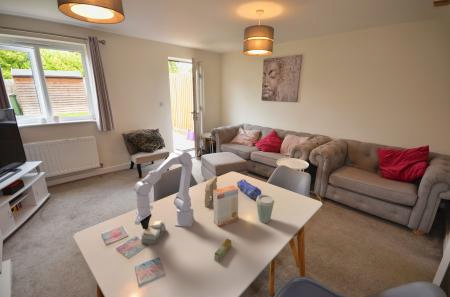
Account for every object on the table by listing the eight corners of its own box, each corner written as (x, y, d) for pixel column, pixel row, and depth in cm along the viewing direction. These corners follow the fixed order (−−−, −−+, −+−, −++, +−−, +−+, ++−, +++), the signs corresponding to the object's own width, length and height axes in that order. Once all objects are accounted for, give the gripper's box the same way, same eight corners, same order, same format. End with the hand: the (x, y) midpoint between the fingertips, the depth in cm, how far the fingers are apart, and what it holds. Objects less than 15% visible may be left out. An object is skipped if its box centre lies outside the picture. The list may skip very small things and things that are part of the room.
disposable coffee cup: (276, 220, 122) (278, 197, 119) (266, 228, 115) (268, 204, 111) (261, 213, 129) (262, 192, 126) (251, 220, 122) (252, 198, 118)
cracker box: (233, 215, 127) (233, 184, 122) (238, 220, 122) (239, 188, 117) (213, 221, 121) (212, 189, 115) (217, 227, 115) (217, 194, 110)
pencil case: (236, 189, 162) (236, 178, 160) (245, 187, 166) (245, 176, 164) (252, 202, 143) (252, 189, 141) (261, 199, 147) (262, 187, 145)
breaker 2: (157, 233, 106) (158, 230, 105) (154, 237, 102) (155, 234, 102) (146, 228, 105) (147, 225, 105) (143, 233, 102) (144, 230, 102)
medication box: (218, 263, 91) (219, 255, 90) (213, 260, 92) (214, 253, 91) (231, 246, 101) (231, 239, 100) (226, 244, 102) (226, 237, 101)
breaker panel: (165, 229, 113) (165, 222, 112) (156, 244, 102) (155, 236, 100) (152, 228, 114) (151, 221, 113) (141, 243, 102) (140, 235, 101)
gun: (208, 208, 135) (208, 186, 132) (204, 207, 136) (204, 186, 133) (217, 194, 158) (217, 176, 156) (213, 193, 159) (213, 175, 157)
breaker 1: (162, 223, 111) (161, 220, 111) (160, 227, 108) (159, 224, 107) (152, 224, 112) (151, 221, 111) (149, 228, 109) (148, 225, 108)
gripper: (143, 197, 107) (144, 219, 111) (127, 212, 93) (130, 237, 97) (155, 198, 107) (157, 220, 110) (142, 213, 93) (144, 238, 96)
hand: (145, 228), depth 103 cm, fingers closed, pressing on breaker 2
